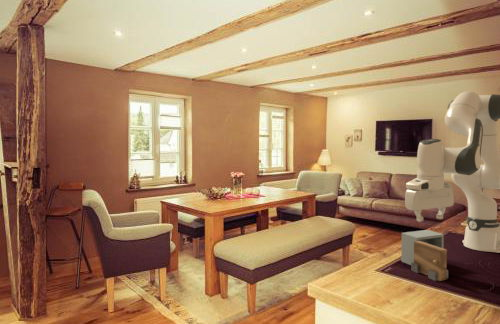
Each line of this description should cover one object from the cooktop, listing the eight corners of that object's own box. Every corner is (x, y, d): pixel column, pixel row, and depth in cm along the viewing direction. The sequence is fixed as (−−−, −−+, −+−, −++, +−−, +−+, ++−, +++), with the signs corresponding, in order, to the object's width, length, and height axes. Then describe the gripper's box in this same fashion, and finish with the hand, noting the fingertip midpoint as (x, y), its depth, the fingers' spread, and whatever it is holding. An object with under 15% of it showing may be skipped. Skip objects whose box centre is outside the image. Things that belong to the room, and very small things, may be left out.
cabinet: (427, 257, 147) (427, 229, 146) (443, 263, 139) (443, 234, 139) (401, 261, 142) (401, 232, 142) (416, 267, 135) (416, 237, 134)
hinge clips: (423, 268, 134) (423, 260, 134) (448, 278, 124) (448, 270, 124) (411, 270, 132) (411, 262, 132) (435, 280, 122) (435, 272, 122)
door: (419, 268, 134) (420, 240, 134) (446, 279, 123) (446, 249, 122) (411, 269, 133) (411, 242, 132) (437, 281, 122) (438, 250, 121)
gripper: (444, 180, 133) (443, 215, 133) (402, 183, 126) (401, 220, 127) (458, 182, 127) (458, 219, 127) (415, 185, 120) (415, 224, 121)
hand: (429, 220), depth 127 cm, fingers open, 8 cm apart
